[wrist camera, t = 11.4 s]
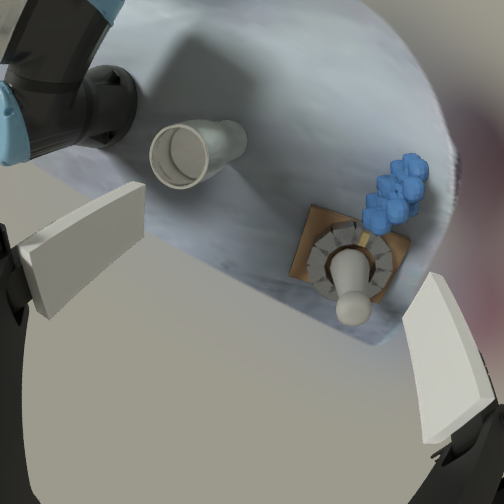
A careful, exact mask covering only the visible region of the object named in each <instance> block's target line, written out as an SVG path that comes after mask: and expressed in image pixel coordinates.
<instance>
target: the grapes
mask: <svg viewBox="0 0 504 504" xmlns="http://www.w3.org/2000/svg"><path fill="white" fill-rule="evenodd" d="M390 168H391V174H390V175H383V176H379V177H377V190H378V193H372V194H369V195H366V209H364V210H363V214H362V221H363V226H364V228H365V229H366V230H370V231H371V232H372V233H373V234H374V235H377V236H381V235H385V234H387V233H389V232H391V228H392V224H393V225H399V224H402V223H405V222H407V221H408V218H410V217H413V216H416V215H418V211H419V201H421V200H423V198H424V193H425V185H424V181H427V180H428V175H429V166H428V164H427V162H426V161H424V160H423V159H421V158H420V156H419V155H417V154H415V153H409V154H405V155H403V160H396V161H392V162H391V166H390Z"/></svg>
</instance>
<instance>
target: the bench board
mask: <svg viewBox="0 0 504 504" xmlns="http://www.w3.org/2000/svg"><path fill="white" fill-rule="evenodd" d="M349 220H353V222H355V220H357V219H354V218H351V217H348V216H345V215H342V214H339V213H336V212H333V211H330V210H327V209H324V208H321V207H318V206H314V205H311V209H310V212H309V215H308V218H307V221H306V224H305V228H304V231H303V234H302V237H301V240H300V243H299V246H298V249H297V252H296V255H295V258H294V261H293V264H292V267H291V270H290V273H289V276H290V277H293V278H296V279H300V280H303V281H306V282H309V283H310V279H309V274H308V270H307V258H308V254H309V251H310V248H311V245H312V242H313V240H314V239H315V237H316V236H317V235H318V234H319V233H321V232H322V231H323V230H324V229H325V228H327V227H328V226H329V225H331V226H332V227H333V224H332V223H338V222H343V221H349ZM357 221H360V220H357ZM360 222H363V221H360ZM382 236H383V237H384V239H385V240H386V241H387V242H388V245H389V247H390V250H391V253H392V267H393V270H392V274H391V276H390V277H389V279H388V281H387V283H386V285H385V287H384V288H382V290H381V291H380V292H378V293H377V294H375V295H374V296H372V297H371V298H369V299H370V301H372V302H375V303H378V304H379V302H380V300H381V299H382V297H383V295H384V293H385V292H386V290H387V288H388V286H389V284H390V283H391V281H392V279H393V277H394V275H395V273H396V271H397V269H398V267H399V265H400V263H401V261H402V259H403V257H404V255H405V253H406V251H407V249H408V247H409V245H410V243H411V241H410V239H409V238H406V237H404V236H401V235H399V234H396V233H393V232H389V233H387V234H385V235H382ZM346 248H350V249H356V250H358V251H360V252H362V253H363V254H364V255H365V256H366V258H367V259H368V261H369V268H370V269H371V267H372V265H373V263H374V257H373V255H372V254H371V253H370V251H369V250H368V249H367V248H365V247H362V246H359V245H356V244H350V245H344V246H339V247H338V248H337V249H335V250H334V251H333V252H332V253H330V254H329V255H328V258H327V260H326V268H327V270H328V271H329V272H330V273H331V270H330V266H331V262H332V259H333V257H334V256H335V255H336V254H337V253H338V252H340V251H343V250H344V249H346ZM369 271H370V270H369Z"/></svg>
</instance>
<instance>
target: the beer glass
mask: <svg viewBox="0 0 504 504" xmlns="http://www.w3.org/2000/svg"><path fill="white" fill-rule="evenodd" d="M246 147H247V134H246V132H245V130H244V128H243V127H242V126H241V125H240V124H239V123H237V122H235V121H232V120H222V121H219V122H217V123H216V122H213V121H209V120H202V119H198V120H188V121H183V122H180V123H177V124H172V125H169V126H167V127H165V128H163V129H162V130H160V131H159V132H158V133H157V134H156V136H155V137H154V139H153V141H152V143H151V147H150V153H149V158H150V164H151V167H152V170H153V172H154V174H155V175H156V177H157V178H158V179H159V180H160V181H161V182H162V183H163V184H165V185H166V186H168V187H171V188H174V189H187V188H190V187H192V186H194V185H196V184H199V183H201V182H203V181H206V180H207V179H209V178H211V177H213V176H214V175H215V174H217V173H218V172H219V171H220V170H221V169H222V168H223V167H224V166H225V165H226V164H227V162H228V161H231V160H234V159H237V158H238V157H240V156H241V155H242V154H243V153H244V151H245V149H246Z"/></svg>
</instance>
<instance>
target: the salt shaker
mask: <svg viewBox="0 0 504 504" xmlns="http://www.w3.org/2000/svg"><path fill="white" fill-rule="evenodd" d="M330 270H331V275H332V278H333V282H334V285H335V288H336V291H337V294H338V297H339V299H338V301H337V304H336V314H337V318H338V320H339V321H340V322H341V323H342V324H345V325H347V326H358V325H361V324H363V323H365V322H366V321H367V320H368V319H369V317H370V315H371V313H372V307H371V301H370V299H369V298H368V296H367V289H368V280H369V270H370V268H369V261H368V259H367V258H366V256H365V255H364V254H363V253H362V252H360V251H358V250H356V249H350V248H346V249H344V250H343V251H340V252H338V253H337V254H336V255H335V256H334V257H333V259H332V262H331V266H330Z"/></svg>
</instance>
